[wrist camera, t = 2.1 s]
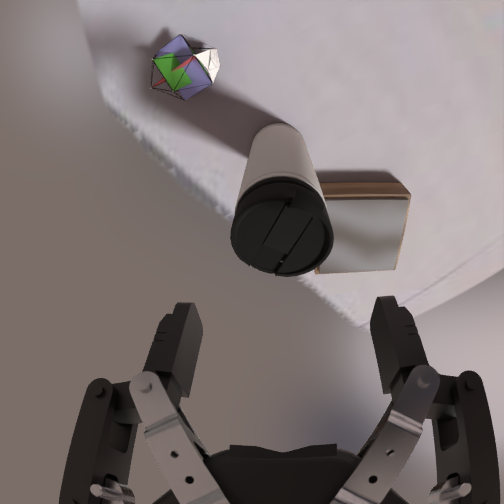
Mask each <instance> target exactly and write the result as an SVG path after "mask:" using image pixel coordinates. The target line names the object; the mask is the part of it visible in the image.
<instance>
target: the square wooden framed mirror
mask: <svg viewBox="0 0 504 504" xmlns="http://www.w3.org/2000/svg"><path fill="white" fill-rule="evenodd" d="M319 184H320V187H321V190H322V193H323V196H324V199H325V203H326V206H327V211H328V215H329V218H330V222H331V225H332V228H333V234H334V243H333V248H332V250H331V253H330V254H329V256H328V257H327V259H326V260H325V261H324V262H323V263H322V264H321V265H320V266H318V267H317V268H315V274H329V273H348V272H366V271H383V270H395V269H396V265H397V261H398V257H399V253H400V249H401V244H402V240H403V235H404V231H405V226H406V221H407V216H408V210H409V205H410V199H411V194H410V192H409V191H408V190H407V189H406V188H405V187H404V185H403V184H402V183H391V182H334V183H319Z"/></svg>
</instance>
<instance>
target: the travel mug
mask: <svg viewBox="0 0 504 504" xmlns="http://www.w3.org/2000/svg"><path fill="white" fill-rule="evenodd" d="M230 239H231V244H232V247H233V249H234V251H235V253H236V255H237V256H238V257H239V258H240V260H242V261H243V262H245V263H246V264H248V265H249V266H250V265H251V266H252V267H254V268H256V269H258V270H260V271H263V272H267V273H275V275H276V276H284V277H291V276H298V275H301V274H305V273H307V272H310V271H312V270H314V269H315V268H317V267H318V266H320V265H321V264H322V263H323V262H324V261H325V260H326V259H327V257H328V256H329V254H330V253H331V250H332V248H333V243H334V234H333V228H332V225H331V222H330V218H329V215H328V211H327V206H326V203H325V199H324V196H323V193H322V190H321V187H320V184H319V181H318V178H317V175H316V172H315V170H314V167H313V164H312V161H311V158H310V156H309V153H308V150H307V147H306V145H305V142H304V140H303V137H302V135H301V134H300V133H299V132H298V131H297V130H296V129H295V128H294V127H292V126H290V125H287V124H283V123H273V124H269V125H267V126H265V127H263V128H262V129H260V130H259V131H258V132H257V134H256V135H255V137H254V139H253V142H252V146H251V150H250V154H249V157H248V161H247V165H246V169H245V173H244V176H243V180H242V184H241V188H240V192H239V196H238V200H237V204H236V208H235V216H234V219H233V224H232V228H231V237H230Z"/></svg>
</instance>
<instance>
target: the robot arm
mask: <svg viewBox="0 0 504 504" xmlns="http://www.w3.org/2000/svg"><path fill="white" fill-rule="evenodd" d="M370 331H371V336H372V340H373V344H374V349H375V353H376V358H377V363H378V368H379V373H380V378H381V383H382V389H383V394H389V393H391V395H392V401H391V402H390V404H389V406H388V407H387V409H386V411H385V413H384V414H383V416H382V418H381V420H380V421H379V423H378V425H377V426H376V428H375V430H374V431H373V432H372V434H371V435H370V437H369V438H368V440H367V441H366V443H365V444H364V445H363V447H362V448H361V449H360V451H359V452H358V454H357V455H356V454H354V453H352V452H349V451H347V450H343V449H338V448H337V444H327V445H313V446H308V447H304V448H300V449H297V450H293V451H289V452H277V451H272V450H269V449H264V448H261V447H257V446H242V445H230V449H229V450H224V451H220V452H218V453H215V454H213V455H211V454H210V453H209V451H208V450H207V448H206V447H205V446H204V444H203V443H202V441H201V440H200V439H199V437H198V436H197V434H196V432H195V431H194V429H193V427H192V426H191V424H190V422H189V420H188V419H187V417H186V415H185V413H184V412H183V410H182V408H181V406H180V405H179V404H180V399H181V397H188V398H189V395H190V390H191V386H192V381H193V376H194V371H195V367H196V363H197V358H198V354H199V349H200V345H201V340H202V336H203V327H202V323H201V320H200V317H199V314H198V311H197V309H196V306H195V304H194V303H177V304H176V305H175V308H174V311H173V314H166V315H165V317H164V318H163V319H162V320H161V322H160V323H159V326H158V328H157V331H156V334H155V337H154V341H153V342H152V346H151V348H150V351H149V354H148V357H147V360H146V363H145V366H144V369H143V371H142V372H141V373H138V374H137V375H135V376H134V377H133V378H132V380H131V381H128V382H122V383H115V384H111V383H110V382H109V381H108V380H107V379H104V378H98V379H95V380H94V381H92V382H91V383H90V384H89V386H88V388H87V390H86V393H85V396H84V400H83V403H82V406H81V409H80V412H79V416H78V419H77V423H76V426H75V430H74V434H73V437H72V441H71V445H70V449H69V453H68V457H67V462H66V466H65V471H64V476H63V481H62V486H61V491H60V497H59V504H135V496H134V493H133V491H132V490H131V489H130V488H129V487H128V486H127V484H128V477H129V471H130V465H131V459H132V453H133V448H134V443H135V438H136V432H137V428H138V423H143V424H144V427H145V430H146V431H145V432H144V435H145V439H146V441H147V443H148V445H149V447H150V449H151V451H152V454H153V456H154V458H155V460H156V462H157V464H158V466H159V467H160V469H161V471H162V473H163V475H164V477H165V479H166V480H167V482H168V484H169V486H170V488H171V489H170V490H169V491H168V492H166V493H165V494H164V495H163V496H161V497H160V498H159V499H157V500H156V501H155V502H154V503H153V504H409V503H408V502H406V501H405V500H404V499H403V498H402V497H401V496H400V495H399V494H398V493H397V492H396V491H395V490H393V489H392V488H391V487H392V485H393V484H394V482H395V481H396V479H397V477H398V476H399V474H400V472H401V471H402V469H403V468H404V466H405V464H406V462H407V460H408V459H409V457H410V455H411V453H412V452H413V450H414V448H415V446H416V444H417V442H418V440H419V438H420V436H421V434H422V430H423V429H422V425H423V422H424V420H425V418H426V419H432V426H433V434H434V443H435V453H436V466H437V485H436V486H434V487H433V488H432V489H431V491H430V493H429V495H428V499H427V504H500V480H499V467H498V458H497V450H496V443H495V436H494V430H493V425H492V420H491V415H490V410H489V406H488V402H487V397H486V393H485V390H484V386H483V382H482V379H481V377H480V376H479V375H478V374H477V373H476V372H474V371H464V372H462V373H461V374H460V375H459V377H454V376H446V375H441V374H438V372H437V371H436V370H435V369H434V368H433V367H431V366H430V365H429V363H428V361H427V358H426V355H425V351H424V348H423V345H422V342H421V339H420V336H419V335H418V330H417V328H416V326H415V322H414V319H413V316H412V314H411V313H410V312H409V311H408V310H407V309H406V308H405V306H404V307H398V304H397V301H396V299H395V297H394V296H382V297H377V299H376V302H375V305H374V309H373V313H372V316H371V320H370Z"/></svg>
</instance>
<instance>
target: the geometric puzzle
mask: <svg viewBox="0 0 504 504" xmlns="http://www.w3.org/2000/svg"><path fill="white" fill-rule="evenodd" d="M185 36H186V35H185ZM192 39H193V38H192ZM199 42H200V41H199ZM206 45H207V44H206ZM208 46H209V45H208ZM200 49H209V50H206V51H203V52H201V53H198V54H195V53H194V51H193V50H192V48H191V47H190V45H189V44H188V43H187V41H186V40H185V38H184V37H183V36H182V33H180V34H179V35H178V36H177V37H176V38H174V39H173V40H172V41H170V42H169V43H168V44H167V45H166V46H164V47H163V48H162V49H161V50H160V51H158V52H157V53H155V55H156V56H157V58H155V57H156V56H155V55H154V56H155V57H153V59H152V62H154V63H155V65H156V66H157V68H158V69H159V71H160V72H161V74H162V75H163V77H164V78H162V79H161V80H160V81H159V82H157V83H156V84H155V85H154V86H152V87H155V86H157V85H159V84H161V83H163V82H167V83H168V85H169V86H170V88H171V89H172V91H171V92H174V93H175V91H176V90H177V91H179V92H180V93H181V95H182V96H183V98H184V100H185V101H186V100H187V99H188V98H190V97H192V96H193V95H195V94H197V93H198V92H200V91H201V90H203V89H205V88H206V87H208V86H210V85H212V84H214V83H213V82H214V80H215V77H216V75H217V72H218V70H219V68H220V62H219V58H218V54H217V50H216V49H217V48H215V49H213V48H200ZM154 58H155V59H154ZM201 63H202V64H203V65H204V66H205V67H206V69H207V70H208V71H209V74H210V77H211V79H210V77H209V75H208V73H207V72H206V70H205V69H204V67H203V65H202V64H201ZM153 68H154V66H153ZM152 76H153V73H151V79H152ZM211 80H212V81H211ZM151 84H152V81H151ZM152 87H150V88H152ZM153 89H154V88H153ZM155 89H156V90H157V88H155ZM160 90H163V89H160ZM158 91H159V90H158ZM166 91H169V90H166ZM161 92H162V91H161ZM164 93H165V92H164ZM167 94H168V93H167ZM175 94H176V93H175ZM169 95H170V94H169ZM177 95H178V94H177ZM172 96H173V95H172ZM178 96H179V95H178ZM175 97H176V96H175ZM177 98H178V97H177ZM181 98H182V97H181ZM181 98H180V99H181ZM183 98H182V100H183Z"/></svg>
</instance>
